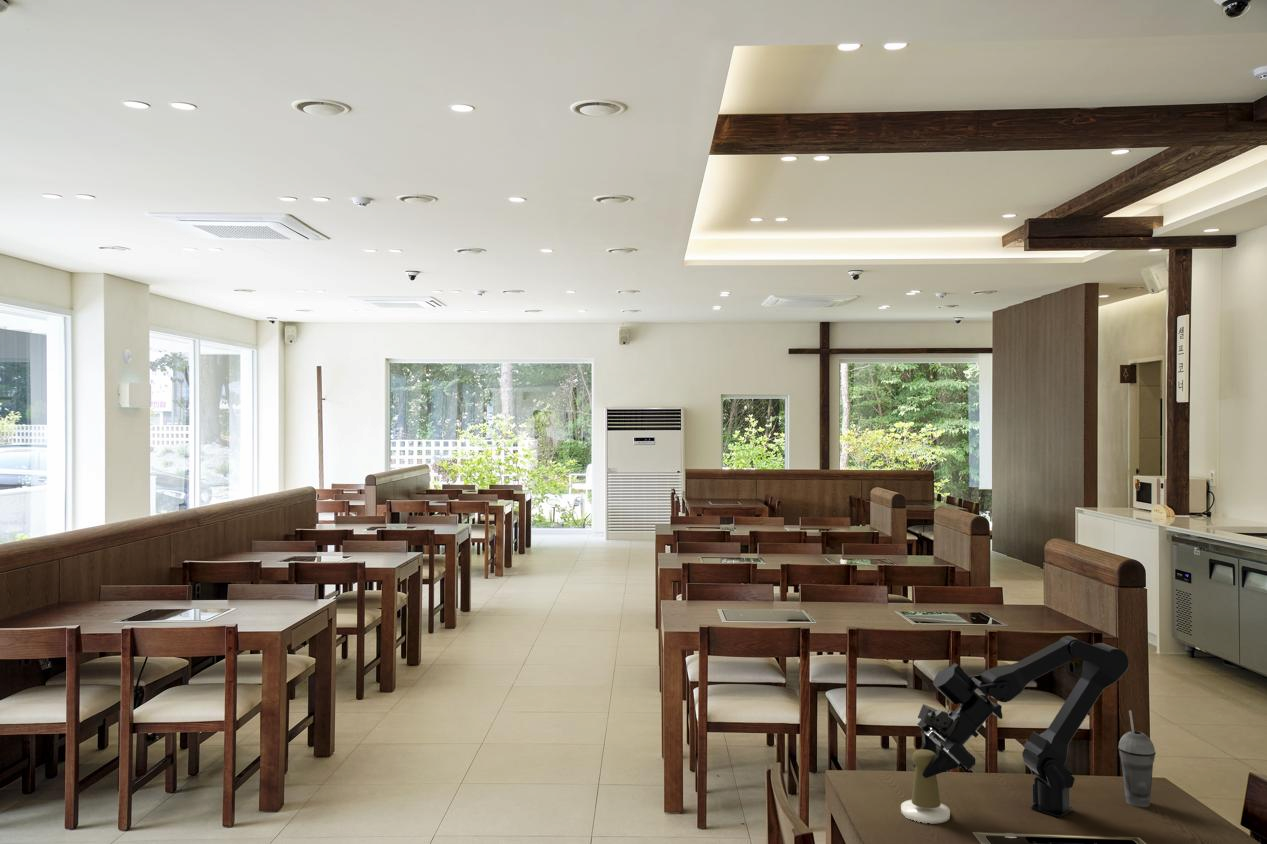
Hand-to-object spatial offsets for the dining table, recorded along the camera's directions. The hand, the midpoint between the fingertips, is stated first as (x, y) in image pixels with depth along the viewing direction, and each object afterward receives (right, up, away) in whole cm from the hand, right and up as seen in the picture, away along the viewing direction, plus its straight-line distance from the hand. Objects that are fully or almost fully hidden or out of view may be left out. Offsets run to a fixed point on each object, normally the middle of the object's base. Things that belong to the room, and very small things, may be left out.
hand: (919, 772), depth 195 cm
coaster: (+1, -9, 0) cm, 9 cm away
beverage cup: (+50, -9, +5) cm, 51 cm away
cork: (+1, -7, 0) cm, 7 cm away
